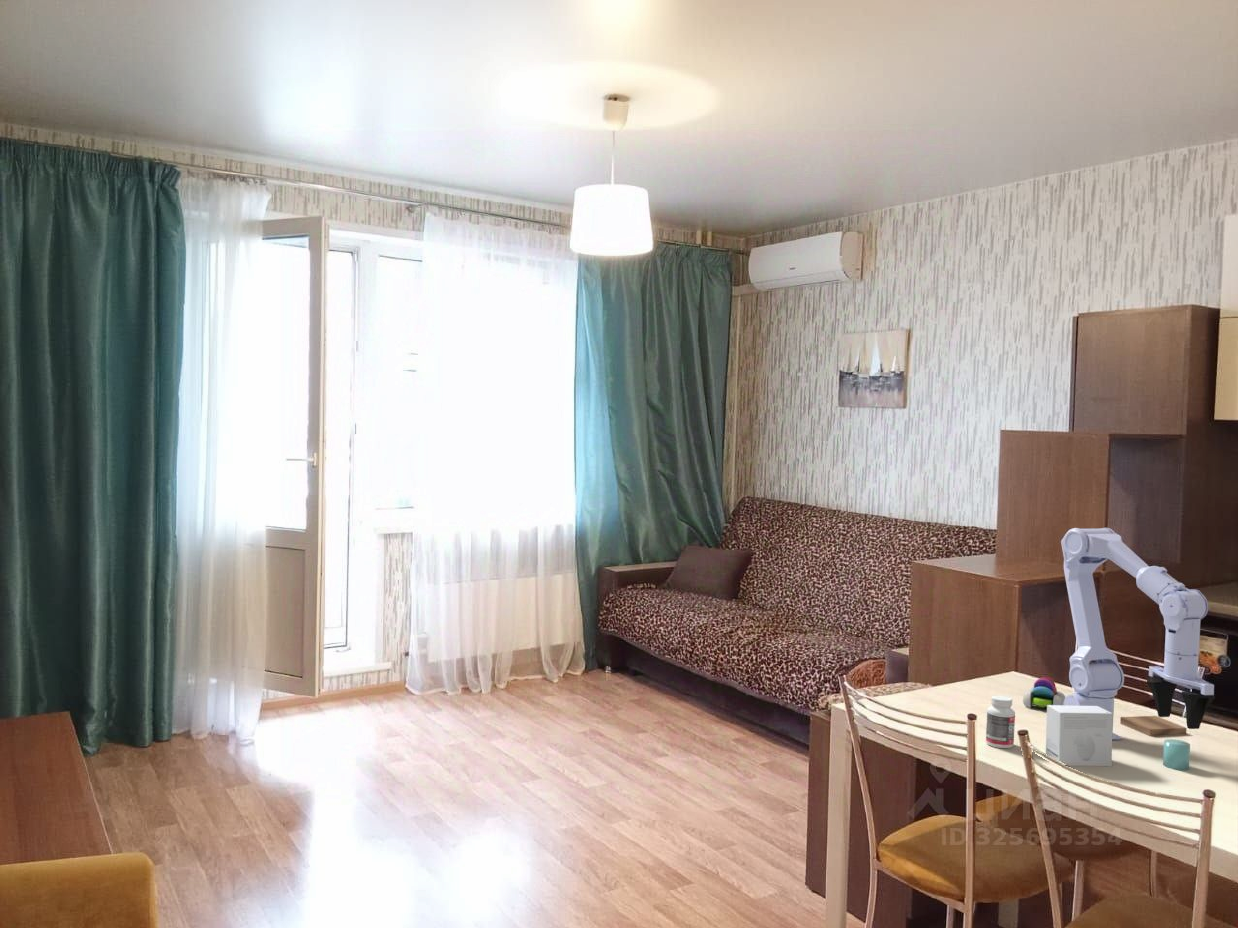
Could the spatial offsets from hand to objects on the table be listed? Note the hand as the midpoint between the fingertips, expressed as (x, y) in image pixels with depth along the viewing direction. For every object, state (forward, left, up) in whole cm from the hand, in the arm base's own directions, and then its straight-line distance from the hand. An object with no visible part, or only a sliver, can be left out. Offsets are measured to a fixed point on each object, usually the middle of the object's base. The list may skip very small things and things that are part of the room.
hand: (1178, 722), depth 191 cm
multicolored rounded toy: (0, +41, -9) cm, 42 cm away
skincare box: (-17, +6, -9) cm, 20 cm away
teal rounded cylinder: (0, 0, -9) cm, 9 cm away
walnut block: (+13, +22, -10) cm, 27 cm away
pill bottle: (-27, +17, -9) cm, 33 cm away
